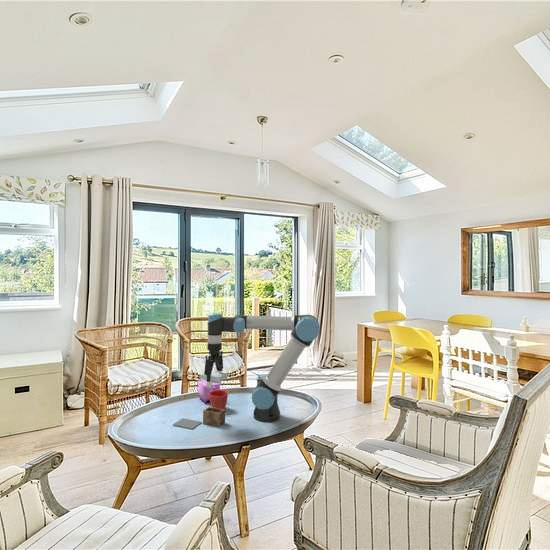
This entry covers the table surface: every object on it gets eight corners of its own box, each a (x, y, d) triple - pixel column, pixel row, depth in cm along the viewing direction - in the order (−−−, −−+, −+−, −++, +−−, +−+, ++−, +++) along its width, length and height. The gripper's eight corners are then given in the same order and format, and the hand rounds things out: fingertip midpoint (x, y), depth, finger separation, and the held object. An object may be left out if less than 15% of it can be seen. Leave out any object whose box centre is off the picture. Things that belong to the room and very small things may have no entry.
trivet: (201, 423, 197) (201, 421, 197) (192, 429, 189) (192, 428, 189) (183, 419, 202) (183, 418, 202) (172, 425, 194) (172, 424, 194)
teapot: (196, 396, 239) (197, 377, 239) (211, 394, 243) (212, 375, 243) (206, 406, 221) (206, 385, 221) (222, 404, 226) (222, 383, 226)
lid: (227, 381, 199) (227, 373, 199) (219, 385, 191) (219, 377, 191) (208, 378, 203) (208, 370, 203) (199, 382, 196) (200, 374, 196)
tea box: (225, 422, 198) (225, 409, 198) (219, 426, 193) (219, 413, 193) (209, 419, 202) (209, 406, 202) (202, 423, 197) (203, 410, 197)
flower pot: (224, 413, 211) (224, 396, 211) (206, 412, 213) (206, 395, 213) (230, 407, 221) (230, 390, 221) (212, 405, 223) (213, 389, 223)
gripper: (218, 338, 208) (217, 379, 208) (197, 345, 189) (196, 389, 189) (230, 340, 205) (229, 380, 206) (210, 346, 186) (209, 391, 186)
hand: (213, 385), depth 197 cm, fingers closed on lid, 8 cm apart
